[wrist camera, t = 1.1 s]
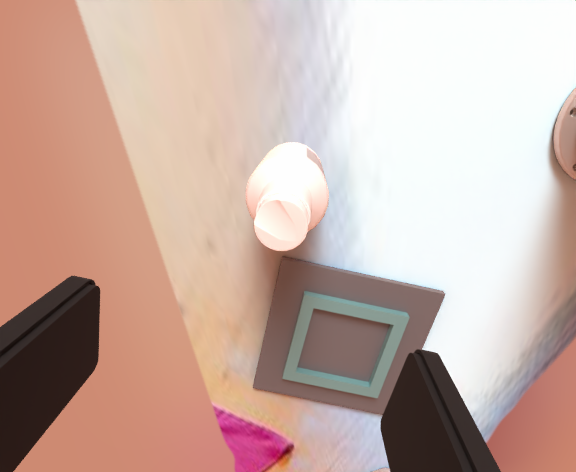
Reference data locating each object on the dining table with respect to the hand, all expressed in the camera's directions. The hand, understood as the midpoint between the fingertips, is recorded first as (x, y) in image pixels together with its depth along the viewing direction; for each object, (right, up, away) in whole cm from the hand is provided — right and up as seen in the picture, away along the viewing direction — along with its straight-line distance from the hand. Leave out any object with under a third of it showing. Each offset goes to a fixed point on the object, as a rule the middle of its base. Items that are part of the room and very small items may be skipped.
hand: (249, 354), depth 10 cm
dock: (+8, -10, +36) cm, 38 cm away
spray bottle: (+2, +11, +28) cm, 30 cm away
